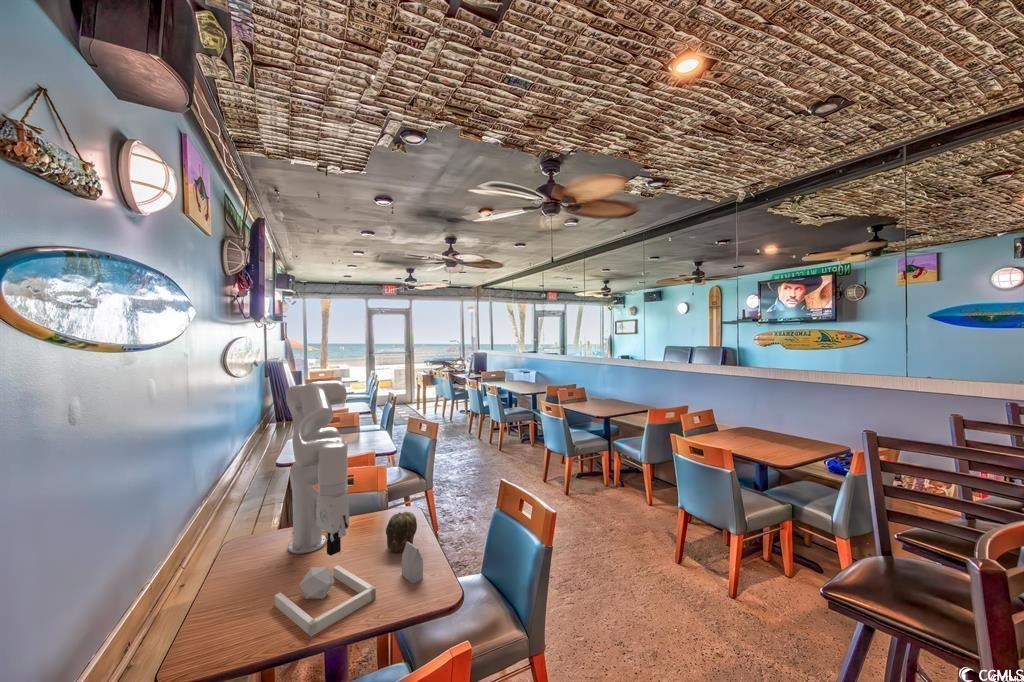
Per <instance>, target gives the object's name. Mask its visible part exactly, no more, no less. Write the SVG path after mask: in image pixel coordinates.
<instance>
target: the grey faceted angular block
mask: <svg viewBox="0 0 1024 682" xmlns="http://www.w3.org/2000/svg"><path fill="white" fill-rule="evenodd" d="M401 575H402V576H403V577H404V578H405V579H406V580H407V581H409V582H410V583H412V584H414V583H417V582H418V581H421V580H423V579H424V559H423V557H422V555H421V553H420V549H419V548H418V547H416V546H415V545H414V544H410V543H409V542H408V541H407V542H406V546H405V549H404V551H403V552H402V555H401Z"/></svg>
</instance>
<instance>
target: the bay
mask: <svg viewBox="0 0 1024 682" xmlns="http://www.w3.org/2000/svg"><path fill="white" fill-rule="evenodd" d="M332 574H333V575H332V576H333V578H335V579H336V580H337V581H340V582H341V583H343V584H344V585H346V586H347V587H349V588H351V589H352V590H354V591H355V592H357V593H358V594H356V595H354V596H353V597H351V598H349V599H347V600H345V601H344V602H342V603H341V604H338V605H337V606H335V607H333V608H331V609H329V610H328V611H326V612H324V613H322V614H321V615H318V617H315V618H313V617H311V615H309V614H308V613H306V612H305V610H303V609H302V608H301V607H299V606H298V605H297V604H296V603H294V602H293V601H291V600H290V599H289V598H288V597H287V596H286V595H284V594H283V593H282V592H279V593H276V594H275V595H274V606H275V607H276V608H277V609H278V610H280V612H282V613H283V614H284V615H285V616H286V617H287V618H289V619H290V620H291V621H292V622H293V623H294V624H295V625H297V626H298V627H299V628H300V629H302V630H303V631H304V632H305V633H306V634H307V635H309V636H310V637H313V636H314V635H316V634H318V633H319V632H321V631H323V630H325V629H327V628H328V627H330V626H332V625H333V624H335V623H336V622H338V621H340V620H342V619H343V618H345V617H346V616H348V615H350V614H351V613H354V612H356V610H358V609H359V608H362V607H363V606H366V605H367V604H368V603H370V602H372V601H373V600H376V598H377V596H376V595H377V594H376V592H377V591H376V589H377V588H376V587H375V586H374V585H371V584H370V583H368V582H367V581H365V580H363V579H362V578H360V577H359V576H356V575H355V574H353V573H351V571H348V570H347V569H344V568H343V567H341V566H340V565H339V564H337V565H335V566H333V567H332Z"/></svg>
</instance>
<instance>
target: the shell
mask: <svg viewBox="0 0 1024 682" xmlns="http://www.w3.org/2000/svg"><path fill="white" fill-rule="evenodd" d="M417 529H418V522H417V518H416V516H415V514H414V513H413V512H411V511H409V512H408V511H404V512H398V513H396V514H393V515H392V516H391V517H390V519H389V520H388V524H387V525H386V528H385V535H386V545H387V549H388V551H389V552H390V553H393V554H395V553H403V551H404V549H405V546H406V542H407V541H408V542H409V543H410V544H412V545H414V544H413V543H414V537H415V535H416V532H417Z"/></svg>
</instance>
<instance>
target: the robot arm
mask: <svg viewBox="0 0 1024 682" xmlns="http://www.w3.org/2000/svg"><path fill="white" fill-rule="evenodd" d="M347 395H348V394H347V389H346V386H345V384H344V382H342V381H340V380H323V381H312V382H308V383H305V384H304V383H303V384H295V385H292V386H289V387H288V388H287V389H286V390H285V401H286V406H287V407H288V411H289V412H290V414H291V417H292V422H293V428H292V429H293V431H292V432H293V434H292V450H293V455H294V456H293V457H294V461H295V462H294V463H293V464H292V465H291V467H290V468H289V478H290V483H291V484H290V485H291V490H292V492H291V493H292V532H291V535H292V540H291V542H290V543H289V544H288V546H287V548H288V549H287V550H288V552H290V553H291V554H297V555H298V554H299V555H301V554H308V553H312V552H315V551H317V550H319V549H321V548H323V547H324V546H325V545H326V555H328V556H333V555H336V554H338V553H340V552H341V551H342V550H341V547H342V545H341V540H342V539H341V538H342V537H345V536H346V535H347V531H346V529H348V528H349V527H350V508H349V507H350V506H349V505H350V504H349V498H348V490H349V489H348V488H349V487H348V451H349V450H348V449H349V448H348V443H347V441H346V440H345V439H344V437H342V436H341V434H340V431H339V430H338V428H337V427H333V426H330V427H326V426H328V425H329V424H330V423H331V422H332V421H333V419H334V410H333V408H332V406H336V405H337V406H339V405H343V404H344V403H345V401H346V399H347ZM317 485H318V489H317V488H316V487H315V486H317ZM323 531H324V533H325V535H323Z"/></svg>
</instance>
